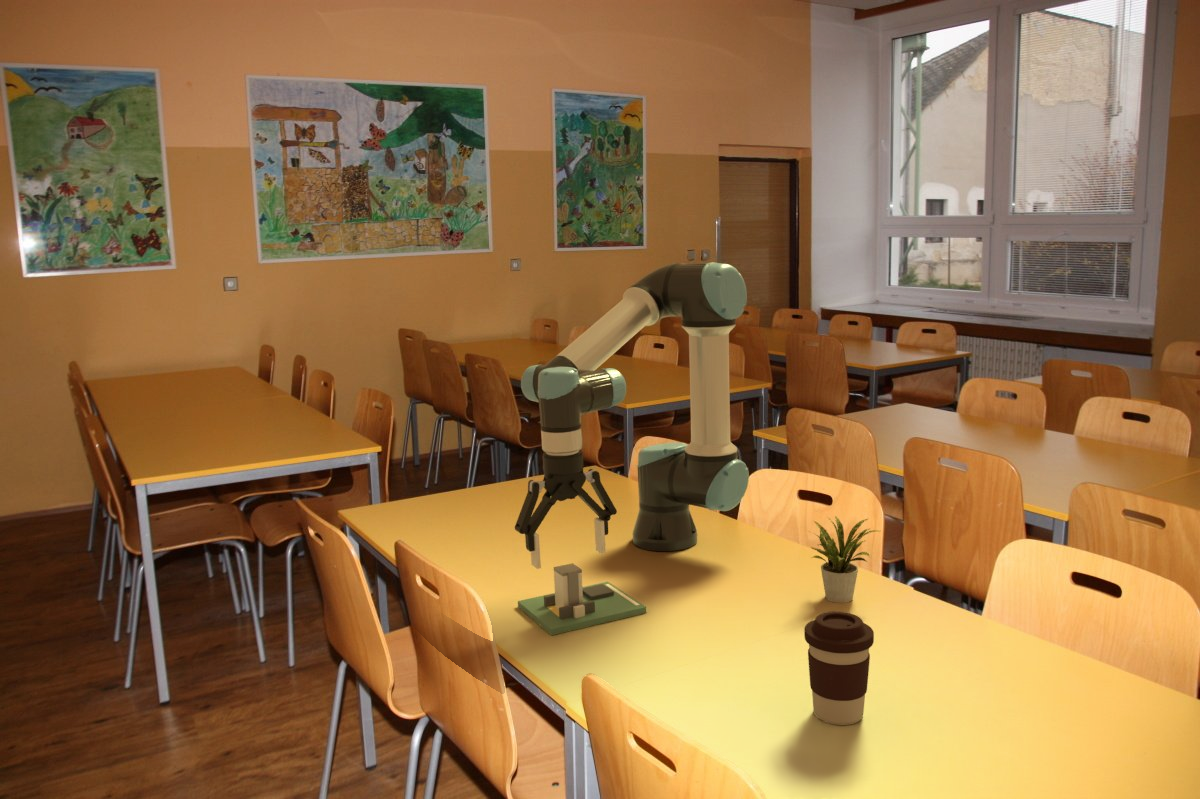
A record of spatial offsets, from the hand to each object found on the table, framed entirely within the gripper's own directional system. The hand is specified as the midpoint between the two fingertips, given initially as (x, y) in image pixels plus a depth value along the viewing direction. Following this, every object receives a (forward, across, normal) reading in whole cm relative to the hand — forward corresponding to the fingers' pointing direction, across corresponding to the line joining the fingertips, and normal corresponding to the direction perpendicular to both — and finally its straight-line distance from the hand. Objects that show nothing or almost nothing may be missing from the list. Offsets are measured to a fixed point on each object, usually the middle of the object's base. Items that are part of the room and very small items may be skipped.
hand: (569, 559), depth 185 cm
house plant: (+12, -49, +21) cm, 55 cm away
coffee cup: (+11, -17, +56) cm, 60 cm away
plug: (+10, +1, 0) cm, 10 cm away
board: (+11, -2, -1) cm, 11 cm away
